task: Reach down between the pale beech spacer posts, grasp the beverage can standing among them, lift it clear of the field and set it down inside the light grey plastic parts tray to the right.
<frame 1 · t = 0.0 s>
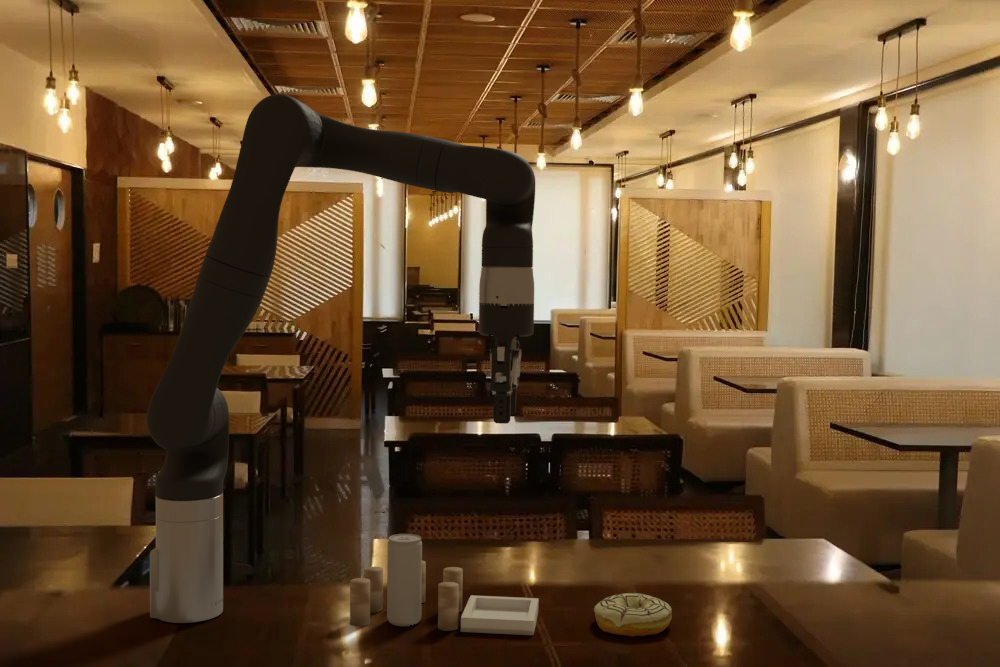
hand: (505, 418, 140), 29 cm above the table, fingers open, 8 cm apart
parts tray: (500, 621, 144), on the table
spacer posts: (404, 621, 143), on the table
decorated donut: (632, 628, 143), on the table
beverage can: (404, 623, 143), on the table
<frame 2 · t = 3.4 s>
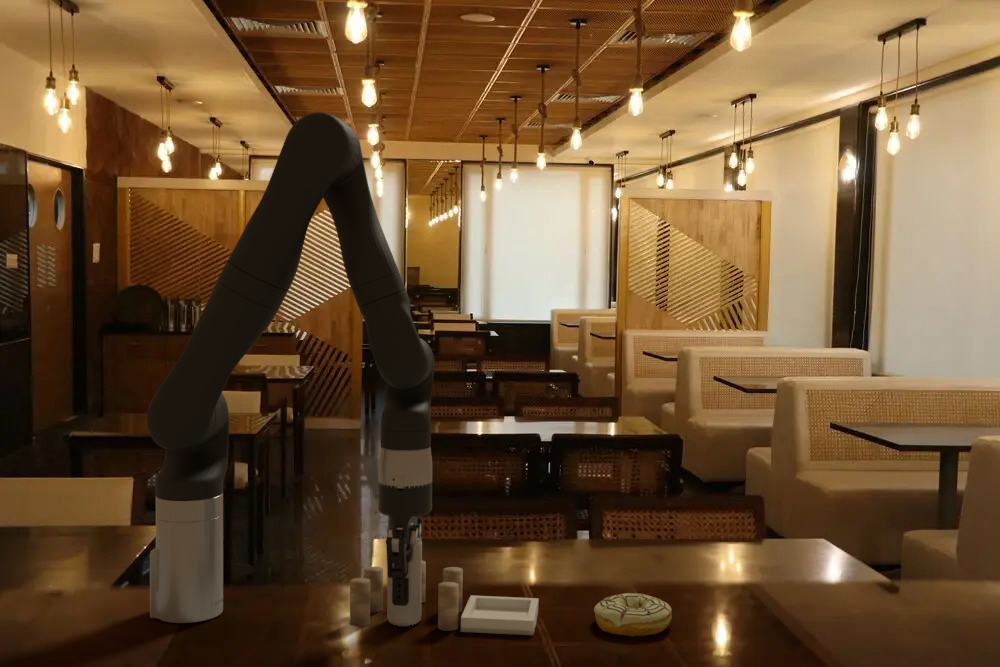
hand: (404, 598, 143), 3 cm above the table, fingers closed on beverage can, 4 cm apart
beverage can: (404, 623, 143), on the table, touching gripper
everything else where it was.
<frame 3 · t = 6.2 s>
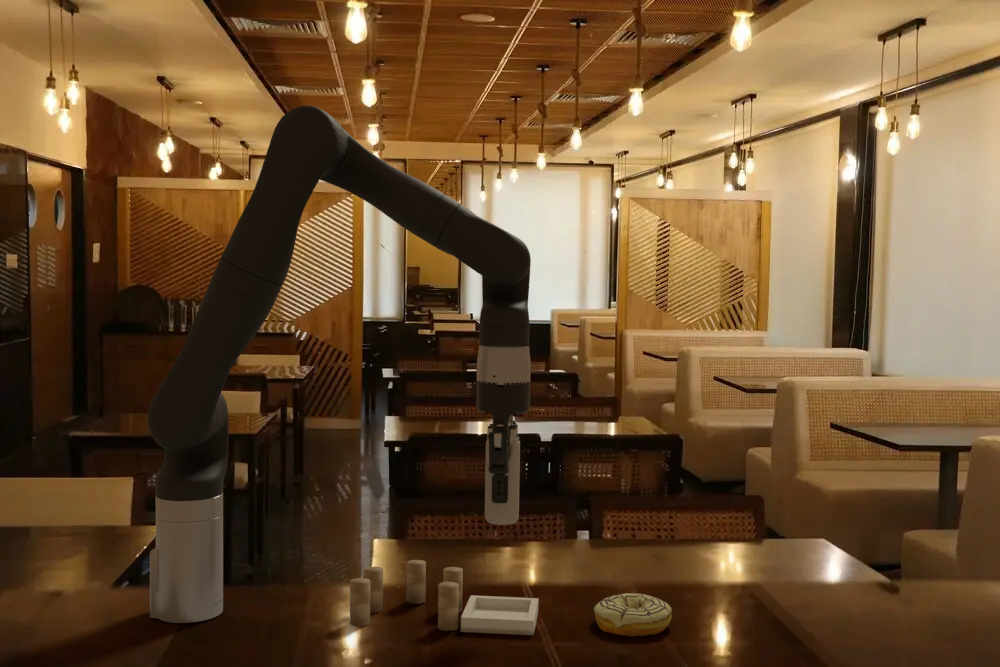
hand: (501, 497, 143), 18 cm above the table, fingers closed on beverage can, 4 cm apart
beverage can: (501, 522, 143), point 14 cm above the table, touching gripper
everything else where it was.
when the fingers open (5 cm above the table, at t = 8.8 s): beverage can drops 1 cm, resting on parts tray.
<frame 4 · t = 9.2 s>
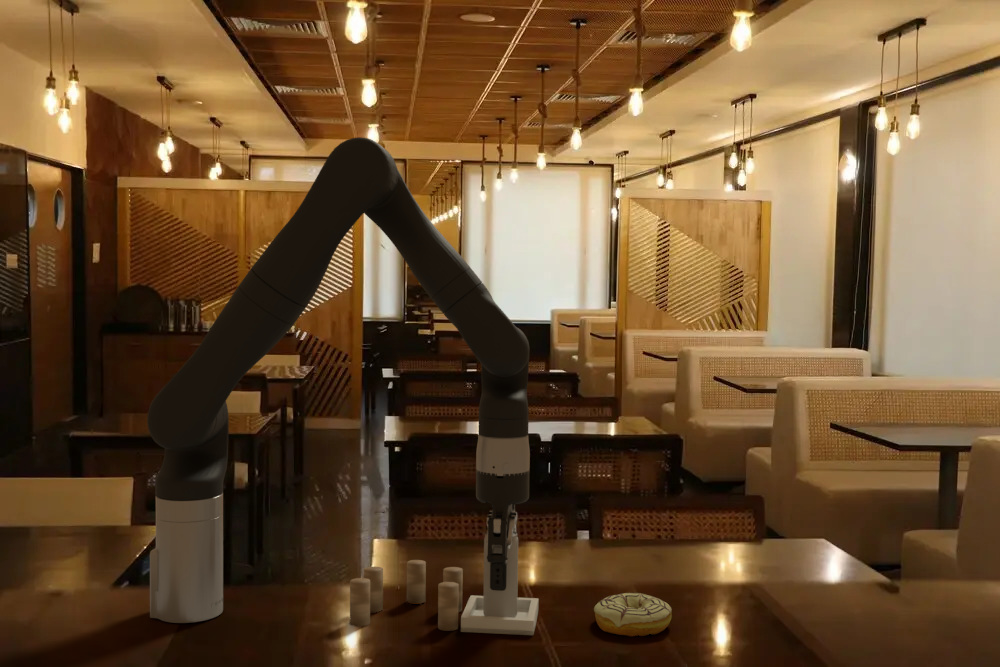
hand: (501, 580, 144), 6 cm above the table, fingers open, 8 cm apart
beverage can: (500, 618, 144), resting on parts tray
everything else where it was.
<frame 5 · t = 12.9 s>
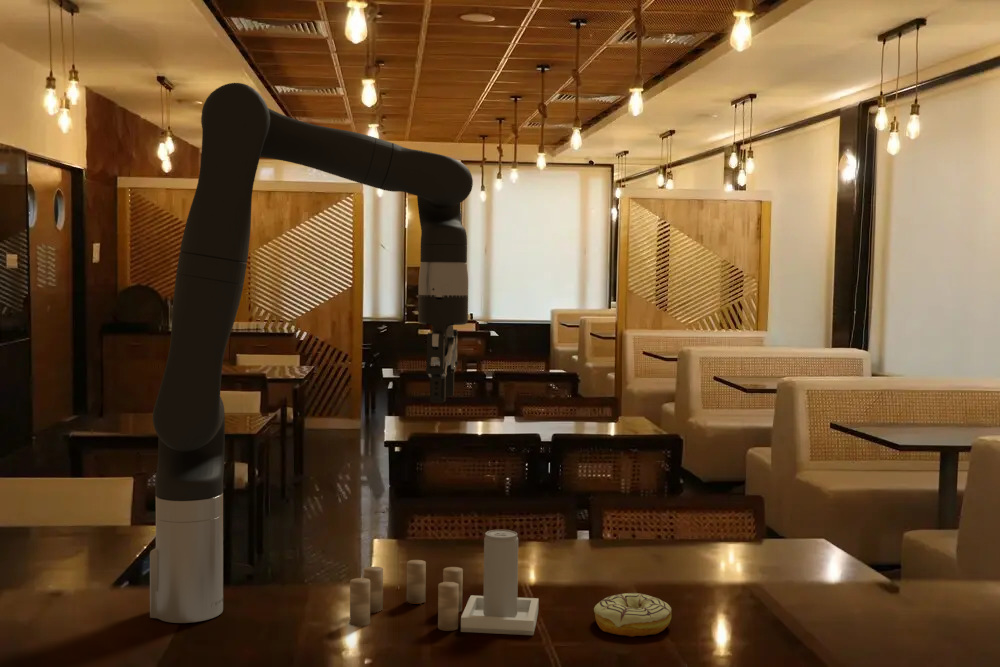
hand: (442, 399, 154), 30 cm above the table, fingers open, 8 cm apart
nothing on the table moved.
at the end: beverage can inside the target area on the parts tray (0.1 cm from its centre), point 0.4 cm above the parts tray's base; beverage can tilted 0°; the gripper is holding nothing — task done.
